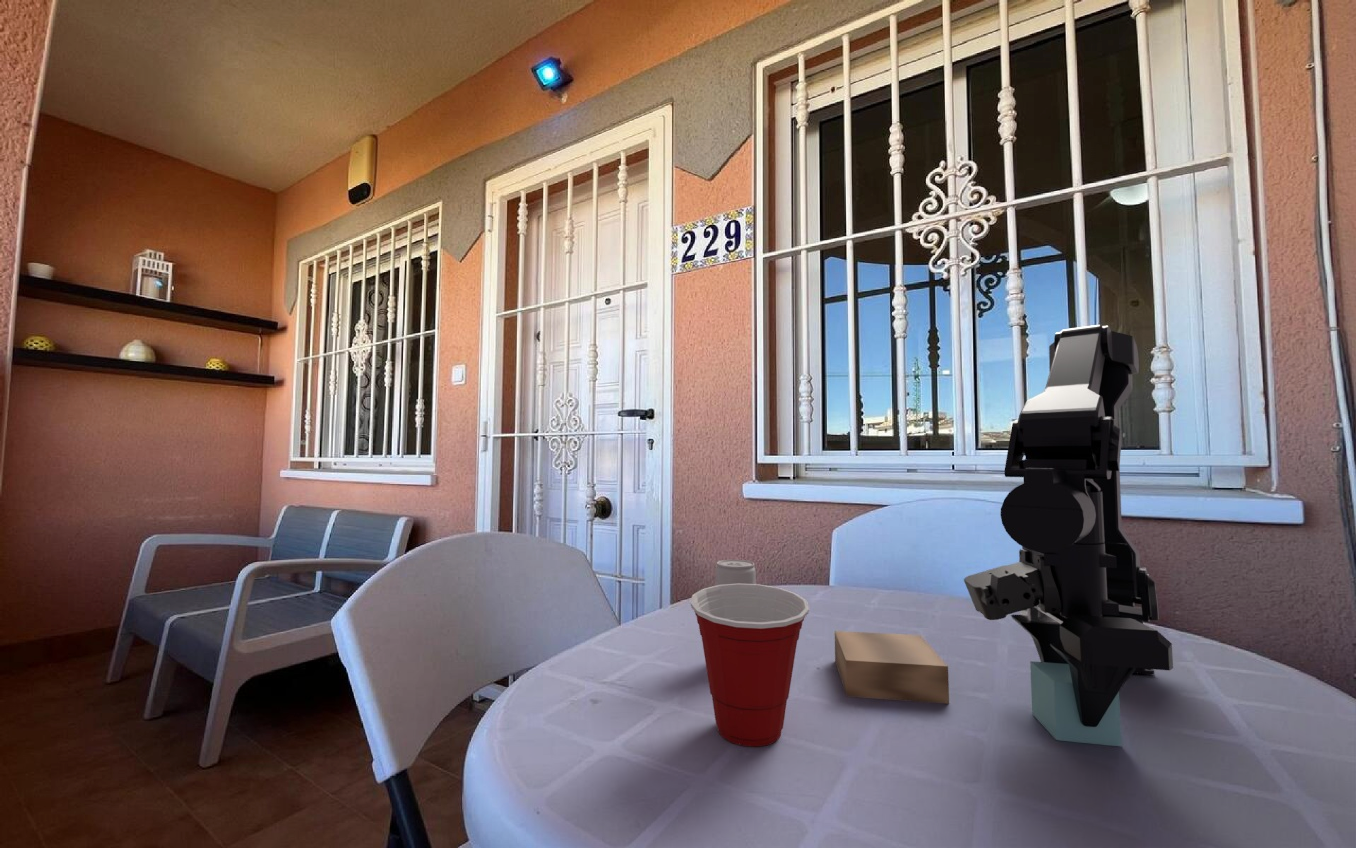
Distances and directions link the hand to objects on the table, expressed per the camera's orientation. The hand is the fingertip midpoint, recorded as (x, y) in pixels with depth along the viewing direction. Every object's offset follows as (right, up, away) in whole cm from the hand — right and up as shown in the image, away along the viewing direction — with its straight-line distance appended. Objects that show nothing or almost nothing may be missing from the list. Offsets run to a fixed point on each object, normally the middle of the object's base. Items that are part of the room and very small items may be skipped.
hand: (1073, 712), depth 50 cm
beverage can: (-29, -3, +15) cm, 33 cm away
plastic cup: (-30, -2, -1) cm, 30 cm away
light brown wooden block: (-13, -3, +11) cm, 17 cm away
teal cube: (0, -2, 0) cm, 2 cm away
